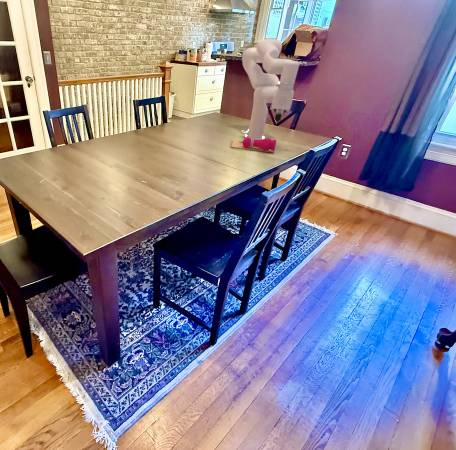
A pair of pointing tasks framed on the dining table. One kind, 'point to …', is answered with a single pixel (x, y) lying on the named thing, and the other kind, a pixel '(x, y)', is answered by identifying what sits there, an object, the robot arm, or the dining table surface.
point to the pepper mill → (259, 143)
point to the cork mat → (240, 145)
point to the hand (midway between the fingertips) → (277, 121)
